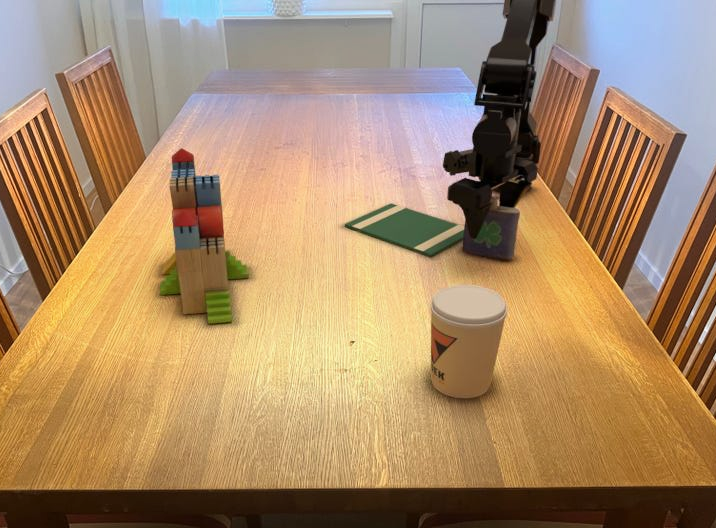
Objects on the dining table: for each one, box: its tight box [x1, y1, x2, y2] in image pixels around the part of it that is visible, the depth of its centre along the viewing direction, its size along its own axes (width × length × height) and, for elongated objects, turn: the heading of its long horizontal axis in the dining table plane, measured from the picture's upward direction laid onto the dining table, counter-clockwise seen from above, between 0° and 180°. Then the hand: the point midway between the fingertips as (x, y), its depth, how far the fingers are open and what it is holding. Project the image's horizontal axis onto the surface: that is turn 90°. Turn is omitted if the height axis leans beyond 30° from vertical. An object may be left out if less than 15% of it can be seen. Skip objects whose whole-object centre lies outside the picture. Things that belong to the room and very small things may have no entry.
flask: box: [461, 195, 521, 262], centre depth 127 cm, size 9×3×11 cm, turn 61°
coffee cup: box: [429, 284, 508, 399], centre depth 94 cm, size 9×9×12 cm
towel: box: [344, 203, 465, 258], centre depth 139 cm, size 14×20×1 cm
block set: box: [159, 148, 249, 324], centre depth 116 cm, size 28×14×19 cm, turn 9°
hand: (488, 229), depth 127 cm, fingers open, 9 cm apart
